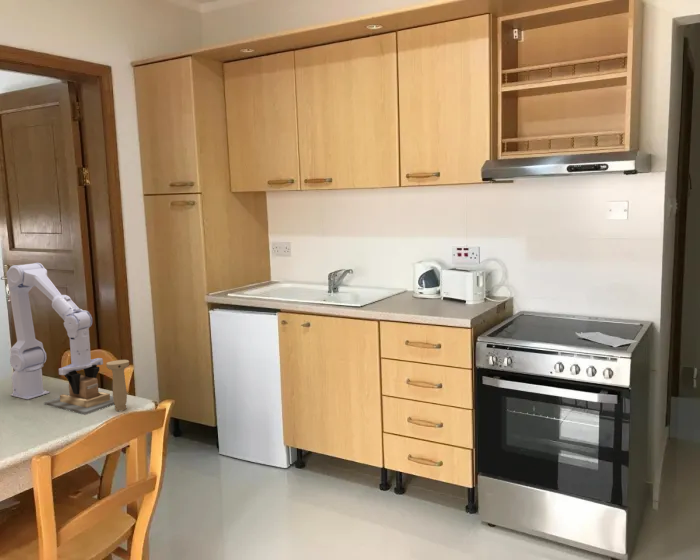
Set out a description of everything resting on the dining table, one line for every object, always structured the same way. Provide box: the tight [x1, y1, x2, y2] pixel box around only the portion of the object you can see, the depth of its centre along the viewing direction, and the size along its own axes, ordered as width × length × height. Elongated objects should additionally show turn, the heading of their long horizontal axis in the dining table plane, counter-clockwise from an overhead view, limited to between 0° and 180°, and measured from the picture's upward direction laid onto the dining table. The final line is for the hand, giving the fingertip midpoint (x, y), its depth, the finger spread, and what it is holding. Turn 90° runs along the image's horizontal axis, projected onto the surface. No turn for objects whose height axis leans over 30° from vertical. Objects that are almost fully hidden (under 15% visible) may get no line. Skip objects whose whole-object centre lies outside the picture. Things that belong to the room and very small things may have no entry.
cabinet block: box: [68, 374, 99, 400], centre depth 195 cm, size 9×5×6 cm, turn 60°
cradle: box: [44, 390, 114, 415], centre depth 196 cm, size 20×14×3 cm
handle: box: [106, 359, 130, 412], centre depth 188 cm, size 5×6×15 cm
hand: (83, 391), depth 195 cm, fingers closed on cabinet block, 4 cm apart
